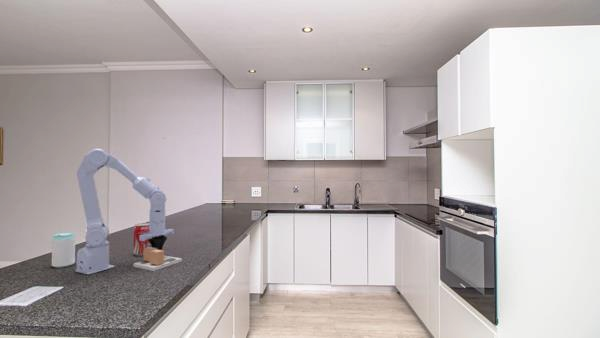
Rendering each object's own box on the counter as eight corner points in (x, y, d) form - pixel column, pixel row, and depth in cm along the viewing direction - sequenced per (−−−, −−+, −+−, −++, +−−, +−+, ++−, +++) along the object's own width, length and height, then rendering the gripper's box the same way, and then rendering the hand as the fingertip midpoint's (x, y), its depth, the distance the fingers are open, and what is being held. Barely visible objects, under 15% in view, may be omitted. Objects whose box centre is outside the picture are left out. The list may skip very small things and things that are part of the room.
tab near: (157, 264, 114) (157, 251, 114) (149, 263, 115) (149, 250, 115) (163, 262, 116) (164, 249, 116) (156, 261, 118) (156, 248, 118)
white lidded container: (62, 268, 114) (62, 236, 114) (46, 267, 115) (46, 235, 115) (79, 263, 120) (79, 232, 121) (64, 262, 122) (64, 231, 122)
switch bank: (153, 271, 111) (153, 267, 111) (133, 266, 116) (133, 263, 116) (181, 261, 123) (181, 258, 123) (162, 258, 128) (162, 254, 128)
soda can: (155, 252, 137) (155, 222, 137) (145, 256, 130) (145, 225, 130) (140, 251, 138) (140, 222, 138) (129, 256, 131) (129, 225, 131)
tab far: (150, 261, 117) (150, 249, 117) (143, 260, 119) (143, 247, 119) (157, 259, 120) (157, 247, 120) (150, 258, 122) (150, 246, 122)
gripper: (148, 224, 114) (148, 261, 114) (179, 219, 127) (179, 252, 127) (135, 223, 117) (135, 259, 117) (166, 218, 130) (166, 250, 130)
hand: (157, 255), depth 123 cm, fingers closed
